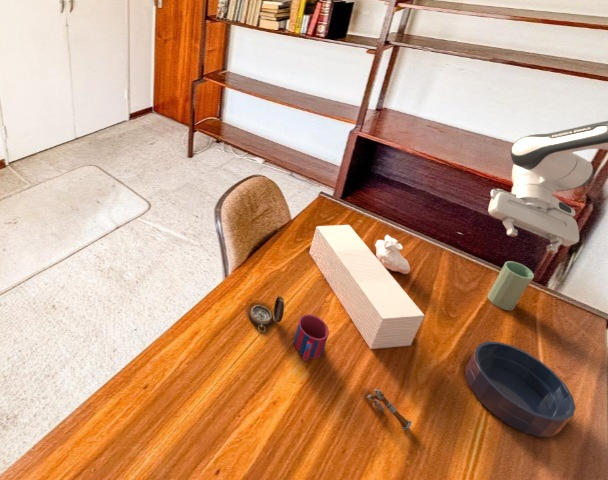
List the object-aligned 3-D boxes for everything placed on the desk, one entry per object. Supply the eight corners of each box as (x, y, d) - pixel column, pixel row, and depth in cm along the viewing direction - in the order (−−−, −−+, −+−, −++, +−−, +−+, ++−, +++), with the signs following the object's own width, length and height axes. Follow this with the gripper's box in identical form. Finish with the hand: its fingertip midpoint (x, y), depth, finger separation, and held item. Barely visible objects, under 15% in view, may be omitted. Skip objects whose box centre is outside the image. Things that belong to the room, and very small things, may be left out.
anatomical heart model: (370, 256, 127) (360, 238, 122) (389, 241, 127) (380, 223, 121) (400, 285, 117) (391, 267, 111) (421, 269, 117) (413, 251, 111)
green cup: (502, 292, 113) (520, 261, 108) (520, 310, 108) (540, 278, 103) (481, 292, 113) (499, 261, 108) (498, 310, 107) (517, 278, 102)
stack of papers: (410, 345, 97) (424, 315, 92) (370, 349, 96) (382, 318, 91) (340, 251, 126) (349, 224, 121) (309, 252, 125) (316, 226, 120)
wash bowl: (513, 359, 95) (525, 341, 92) (582, 438, 80) (599, 420, 77) (447, 359, 94) (457, 341, 91) (504, 438, 79) (518, 420, 77)
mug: (325, 343, 97) (332, 324, 94) (313, 376, 89) (320, 356, 86) (298, 328, 100) (304, 309, 97) (284, 358, 93) (290, 339, 90)
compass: (248, 305, 106) (252, 285, 103) (278, 311, 105) (283, 291, 102) (248, 331, 99) (252, 311, 96) (280, 338, 98) (286, 318, 94)
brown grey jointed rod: (364, 390, 86) (378, 384, 83) (396, 425, 83) (412, 421, 80) (361, 396, 85) (376, 391, 82) (394, 432, 82) (410, 428, 79)
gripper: (499, 181, 114) (497, 221, 107) (582, 213, 109) (586, 258, 102) (484, 190, 119) (481, 229, 112) (563, 221, 114) (565, 264, 107)
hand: (531, 243), depth 107 cm, fingers open, 8 cm apart
